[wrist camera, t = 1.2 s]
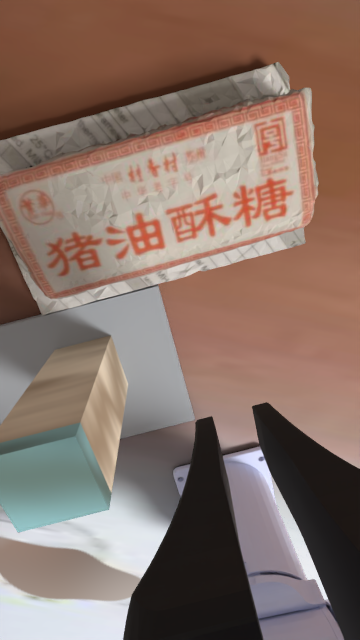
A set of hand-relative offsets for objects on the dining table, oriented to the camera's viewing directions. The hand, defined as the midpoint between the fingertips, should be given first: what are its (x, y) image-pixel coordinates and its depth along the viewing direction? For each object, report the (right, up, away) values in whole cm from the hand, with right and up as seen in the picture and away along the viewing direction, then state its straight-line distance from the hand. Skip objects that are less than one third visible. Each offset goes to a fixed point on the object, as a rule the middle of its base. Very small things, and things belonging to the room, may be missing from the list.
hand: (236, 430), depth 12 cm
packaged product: (-4, +12, +7) cm, 15 cm away
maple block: (-8, +1, +9) cm, 13 cm away
